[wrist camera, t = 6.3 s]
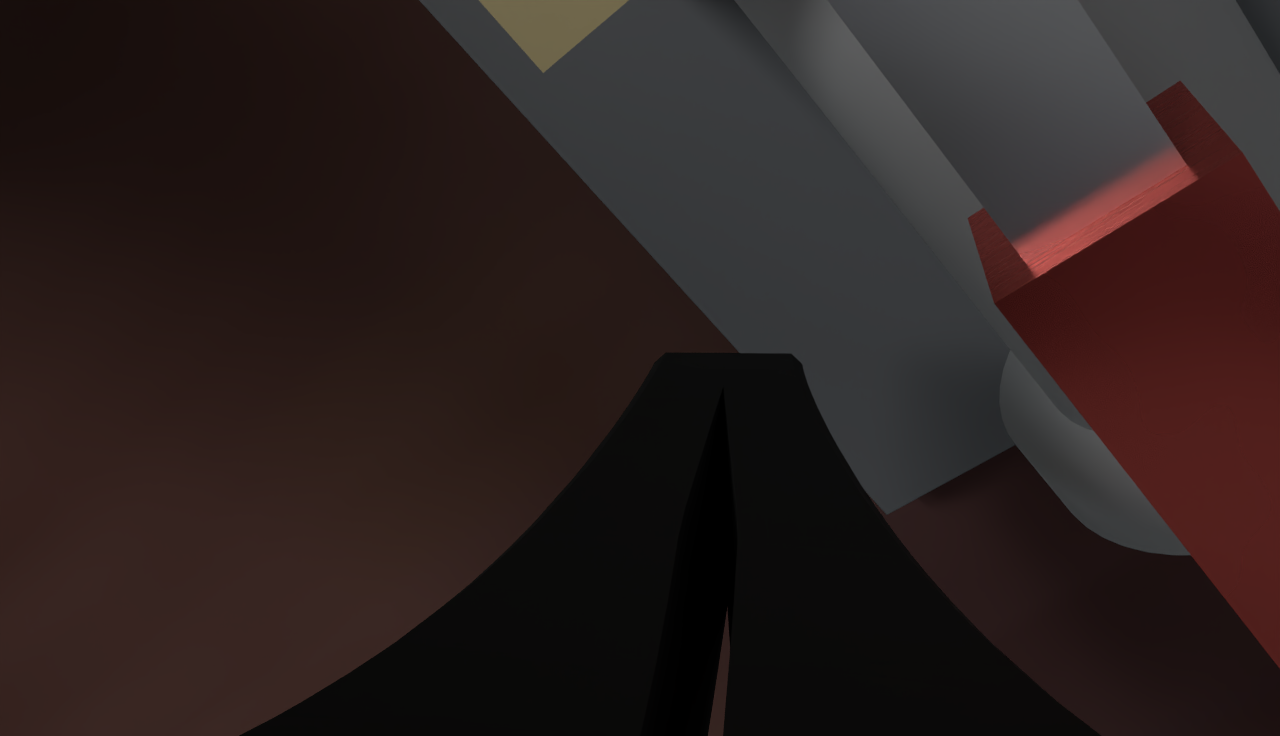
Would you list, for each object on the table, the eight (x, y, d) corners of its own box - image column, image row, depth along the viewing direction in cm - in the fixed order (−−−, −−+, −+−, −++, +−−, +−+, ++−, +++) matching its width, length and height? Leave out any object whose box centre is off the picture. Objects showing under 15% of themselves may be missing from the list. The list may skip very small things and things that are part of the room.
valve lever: (255, -625, 7) (152, -673, 6) (548, -1027, 6) (492, -1182, 5) (1228, 611, 11) (1280, 727, 10) (1492, 495, 10) (1584, 608, 9)
